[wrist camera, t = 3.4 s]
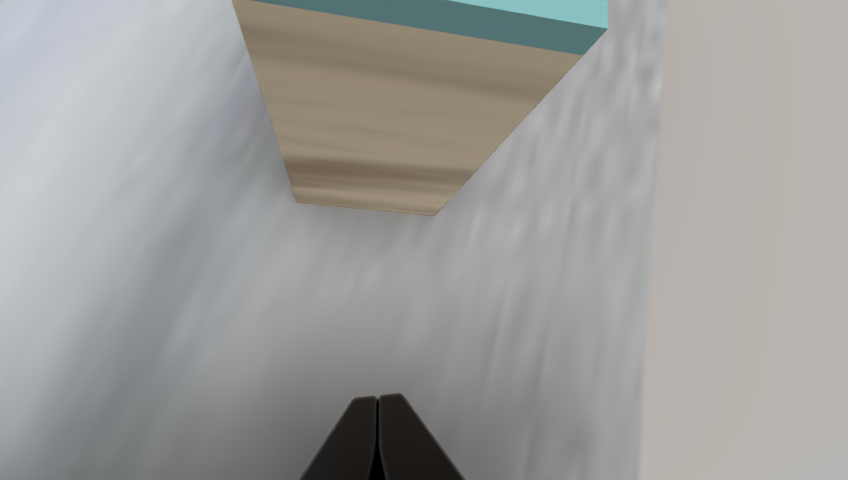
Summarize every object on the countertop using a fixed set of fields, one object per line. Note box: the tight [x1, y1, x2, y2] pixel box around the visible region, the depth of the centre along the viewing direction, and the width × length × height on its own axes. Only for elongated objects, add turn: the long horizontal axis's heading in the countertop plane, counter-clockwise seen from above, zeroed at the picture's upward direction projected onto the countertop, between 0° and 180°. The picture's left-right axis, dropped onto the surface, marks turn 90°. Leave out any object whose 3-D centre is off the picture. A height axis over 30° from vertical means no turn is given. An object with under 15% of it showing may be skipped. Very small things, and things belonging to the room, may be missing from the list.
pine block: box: [232, 0, 608, 216], centre depth 15 cm, size 6×6×14 cm
